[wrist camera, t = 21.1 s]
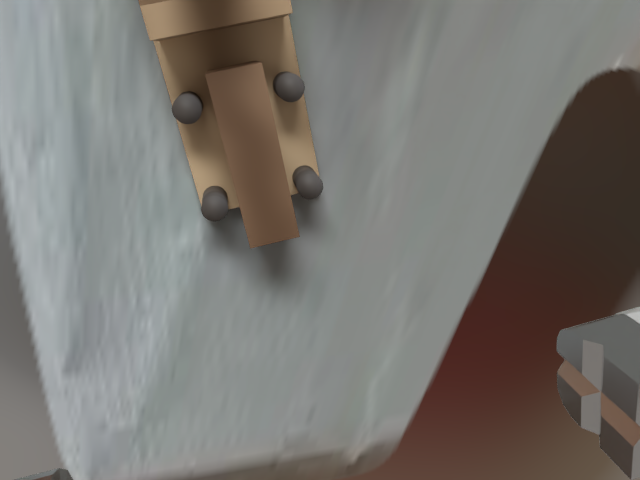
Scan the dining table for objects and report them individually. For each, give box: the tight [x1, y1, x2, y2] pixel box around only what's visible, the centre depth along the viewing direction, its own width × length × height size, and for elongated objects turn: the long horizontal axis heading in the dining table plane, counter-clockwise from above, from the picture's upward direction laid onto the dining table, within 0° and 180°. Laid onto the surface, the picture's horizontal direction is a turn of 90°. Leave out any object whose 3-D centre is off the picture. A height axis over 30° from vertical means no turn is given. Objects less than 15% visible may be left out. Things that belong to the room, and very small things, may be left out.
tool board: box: [138, 0, 323, 221], centre depth 29 cm, size 8×18×5 cm, turn 11°
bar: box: [205, 60, 300, 248], centre depth 30 cm, size 3×10×4 cm, turn 11°
